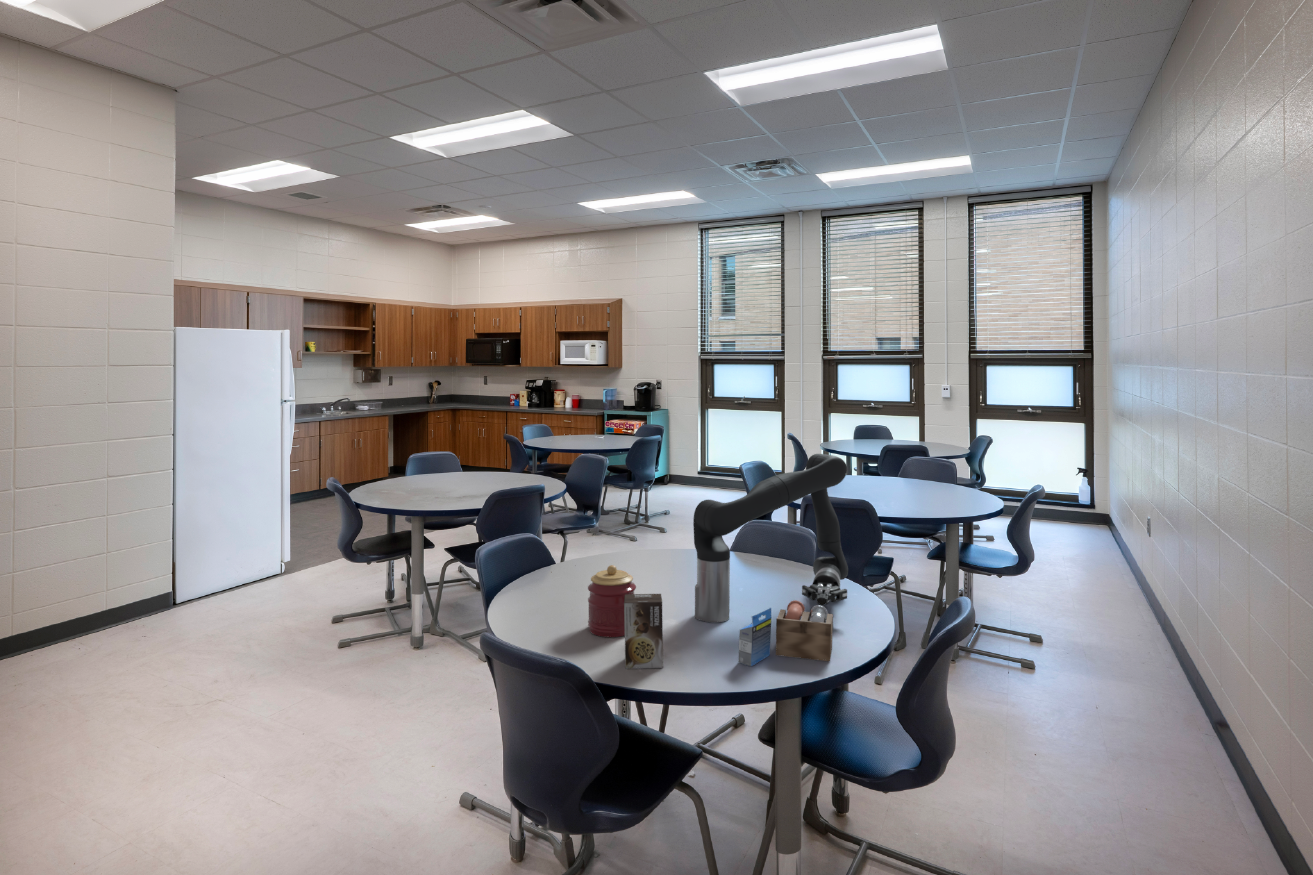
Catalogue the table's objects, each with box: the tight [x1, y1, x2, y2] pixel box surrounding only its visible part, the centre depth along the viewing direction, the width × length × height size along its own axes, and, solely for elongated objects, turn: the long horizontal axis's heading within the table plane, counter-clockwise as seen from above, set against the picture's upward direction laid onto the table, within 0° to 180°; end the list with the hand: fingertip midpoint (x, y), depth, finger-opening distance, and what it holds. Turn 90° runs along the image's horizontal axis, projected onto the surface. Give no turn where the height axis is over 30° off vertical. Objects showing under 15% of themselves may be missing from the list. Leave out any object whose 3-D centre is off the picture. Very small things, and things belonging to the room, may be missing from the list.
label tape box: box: [737, 607, 772, 667], centre depth 173 cm, size 9×4×12 cm, turn 141°
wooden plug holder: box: [775, 609, 834, 662], centre depth 178 cm, size 13×8×9 cm, turn 73°
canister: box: [587, 564, 637, 638], centre depth 193 cm, size 13×13×18 cm
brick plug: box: [785, 599, 806, 620], centre depth 182 cm, size 4×10×4 cm, turn 163°
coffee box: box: [624, 593, 664, 670], centre depth 171 cm, size 9×6×16 cm
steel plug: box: [809, 604, 829, 623], centre depth 178 cm, size 4×10×4 cm, turn 163°
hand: (821, 601), depth 192 cm, fingers closed
